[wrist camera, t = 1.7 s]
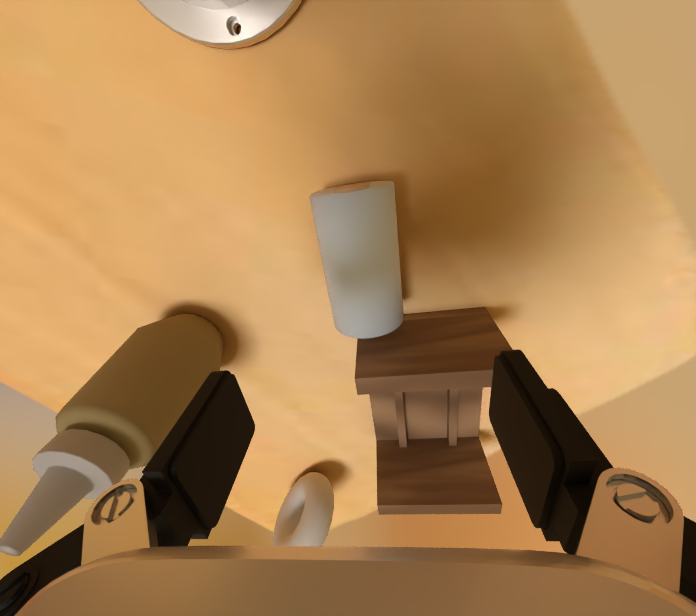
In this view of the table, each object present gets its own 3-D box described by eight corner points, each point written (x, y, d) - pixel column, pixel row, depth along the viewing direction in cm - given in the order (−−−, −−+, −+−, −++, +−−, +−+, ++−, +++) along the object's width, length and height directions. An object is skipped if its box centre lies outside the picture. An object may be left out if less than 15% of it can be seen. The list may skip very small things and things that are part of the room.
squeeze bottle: (236, 312, 29) (74, 523, 13) (234, 376, 33) (107, 597, 17) (149, 293, 28) (-124, 487, 13) (157, 360, 32) (-44, 570, 17)
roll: (323, 185, 23) (296, 200, 19) (397, 175, 22) (389, 188, 17) (343, 304, 28) (326, 339, 23) (405, 302, 27) (401, 340, 22)
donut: (301, 497, 43) (283, 589, 34) (280, 487, 42) (256, 578, 34) (343, 464, 39) (335, 559, 30) (321, 453, 38) (306, 547, 29)
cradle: (359, 318, 28) (354, 378, 21) (484, 307, 27) (524, 367, 20) (377, 441, 36) (379, 514, 29) (474, 437, 35) (500, 513, 28)
